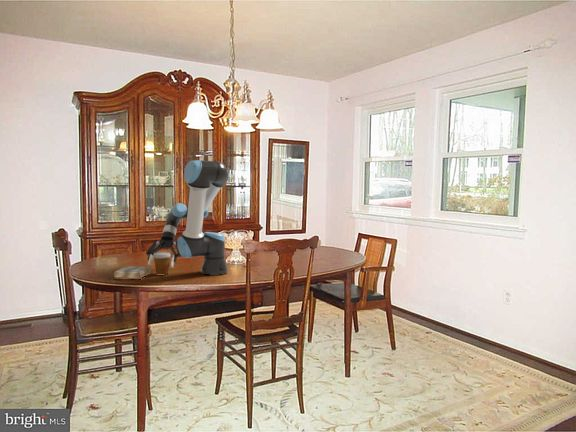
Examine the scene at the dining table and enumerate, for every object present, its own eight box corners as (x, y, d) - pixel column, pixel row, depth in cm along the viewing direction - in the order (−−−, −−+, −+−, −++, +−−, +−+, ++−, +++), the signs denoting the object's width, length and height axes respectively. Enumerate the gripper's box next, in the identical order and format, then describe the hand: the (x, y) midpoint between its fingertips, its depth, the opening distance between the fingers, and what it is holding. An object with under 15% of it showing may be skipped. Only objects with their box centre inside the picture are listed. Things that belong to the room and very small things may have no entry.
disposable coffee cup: (161, 277, 233) (161, 255, 231) (149, 274, 238) (149, 253, 236) (174, 273, 241) (174, 252, 240) (162, 271, 246) (162, 251, 244)
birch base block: (149, 274, 239) (149, 266, 239) (140, 280, 225) (140, 272, 225) (125, 273, 240) (125, 266, 240) (114, 279, 226) (114, 271, 226)
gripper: (190, 239, 253) (183, 270, 240) (150, 237, 254) (140, 268, 241) (188, 231, 247) (180, 263, 234) (146, 229, 248) (136, 261, 235)
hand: (160, 266), depth 237 cm, fingers open, 12 cm apart
